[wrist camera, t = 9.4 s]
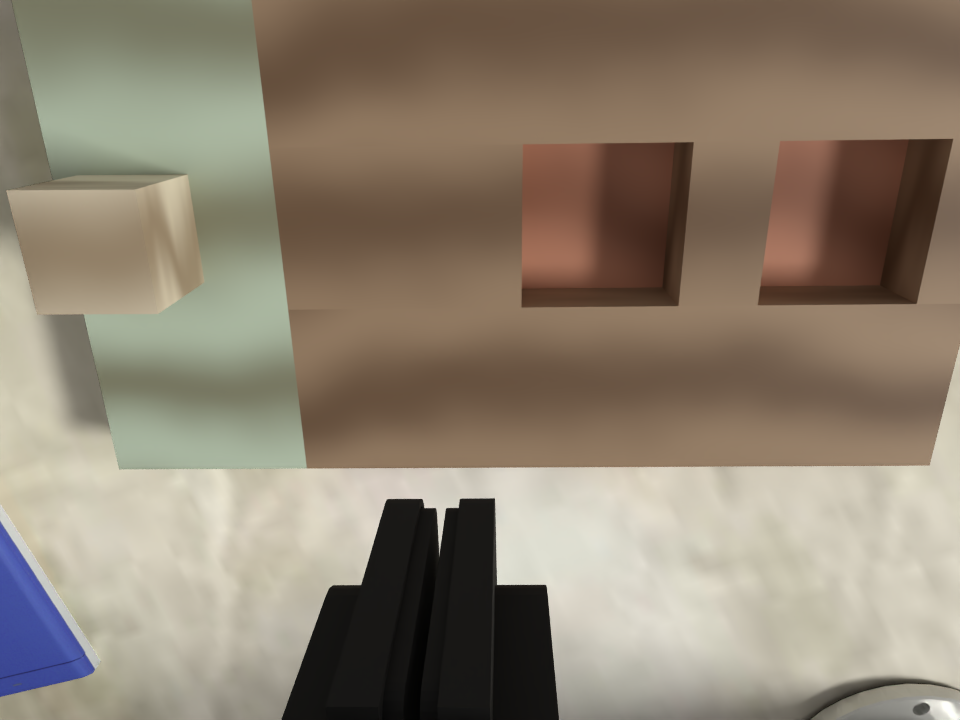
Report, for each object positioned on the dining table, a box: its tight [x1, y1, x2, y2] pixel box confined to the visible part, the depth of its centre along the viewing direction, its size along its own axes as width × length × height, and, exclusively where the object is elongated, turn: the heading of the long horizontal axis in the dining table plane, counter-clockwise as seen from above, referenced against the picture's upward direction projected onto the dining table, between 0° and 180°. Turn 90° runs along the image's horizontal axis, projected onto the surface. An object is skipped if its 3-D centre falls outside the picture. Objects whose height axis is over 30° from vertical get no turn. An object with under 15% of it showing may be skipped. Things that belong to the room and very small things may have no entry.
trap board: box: [11, 0, 960, 469], centre depth 27 cm, size 20×34×3 cm, turn 91°
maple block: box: [6, 174, 204, 315], centre depth 24 cm, size 4×4×4 cm
